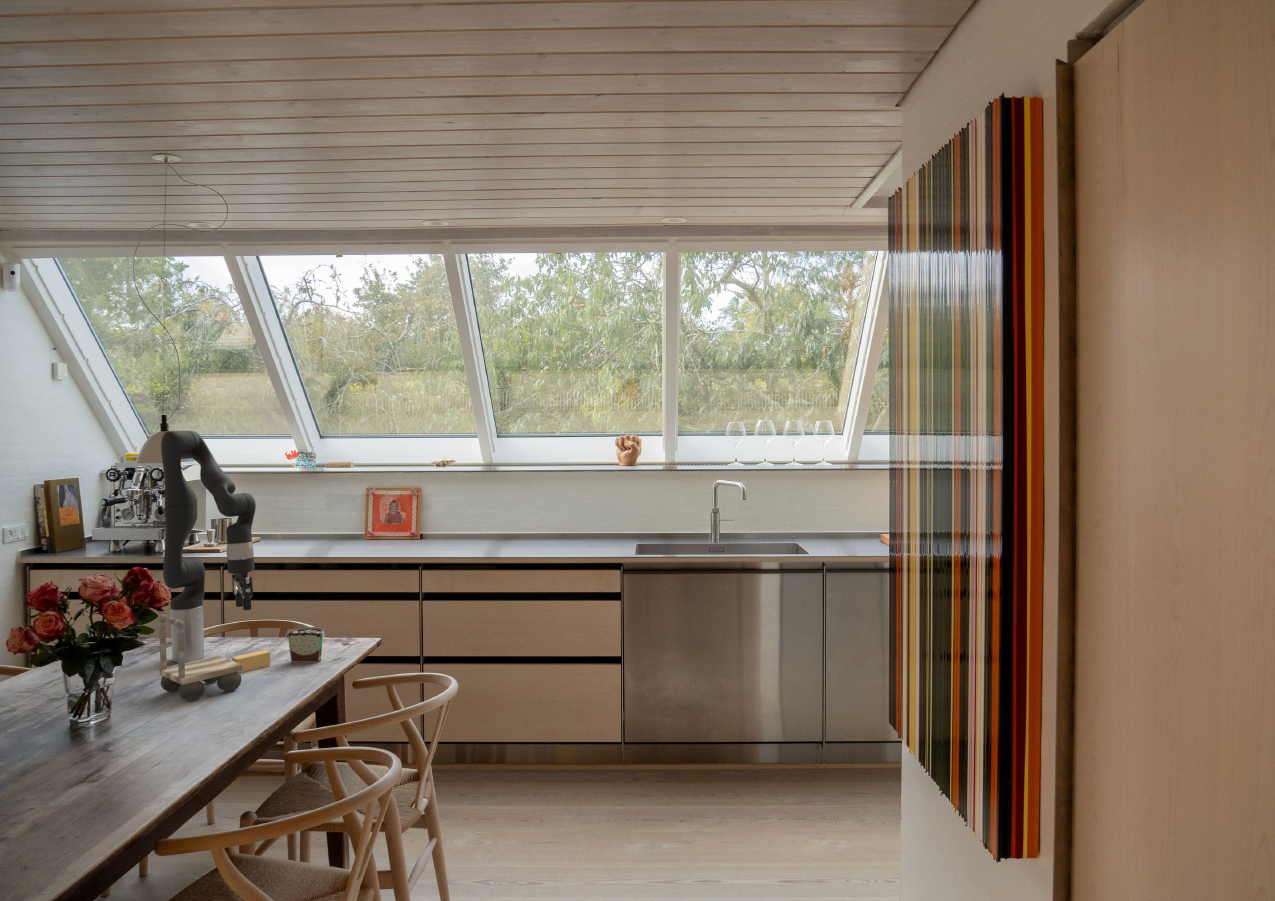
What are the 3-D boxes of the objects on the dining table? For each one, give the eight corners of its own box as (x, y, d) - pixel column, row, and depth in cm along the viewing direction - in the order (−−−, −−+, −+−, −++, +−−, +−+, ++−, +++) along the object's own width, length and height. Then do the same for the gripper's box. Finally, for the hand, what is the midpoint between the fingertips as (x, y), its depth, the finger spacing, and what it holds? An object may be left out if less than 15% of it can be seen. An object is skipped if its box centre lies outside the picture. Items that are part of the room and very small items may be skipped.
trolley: (159, 693, 221) (156, 614, 220) (219, 678, 233) (216, 603, 233) (181, 705, 211) (179, 621, 210) (242, 689, 223) (240, 610, 223)
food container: (332, 656, 255) (331, 626, 255) (323, 662, 249) (322, 631, 249) (297, 656, 256) (296, 626, 256) (286, 661, 250) (286, 631, 250)
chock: (232, 671, 241) (231, 657, 241) (264, 663, 249) (264, 649, 249) (237, 673, 239) (237, 659, 239) (270, 666, 246) (270, 652, 246)
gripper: (221, 556, 246) (224, 607, 246) (233, 560, 235) (236, 613, 235) (247, 553, 251) (250, 603, 251) (259, 556, 240) (262, 608, 240)
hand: (243, 608), depth 243 cm, fingers open, 8 cm apart
